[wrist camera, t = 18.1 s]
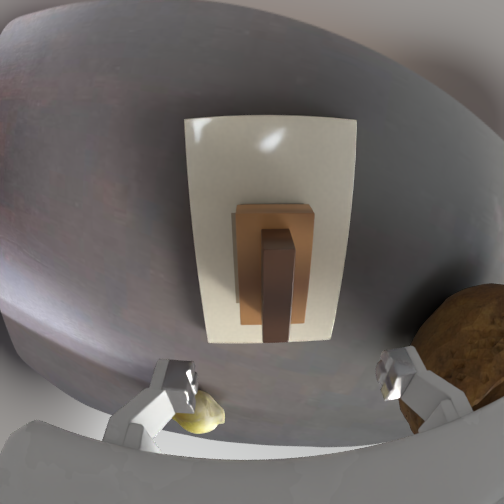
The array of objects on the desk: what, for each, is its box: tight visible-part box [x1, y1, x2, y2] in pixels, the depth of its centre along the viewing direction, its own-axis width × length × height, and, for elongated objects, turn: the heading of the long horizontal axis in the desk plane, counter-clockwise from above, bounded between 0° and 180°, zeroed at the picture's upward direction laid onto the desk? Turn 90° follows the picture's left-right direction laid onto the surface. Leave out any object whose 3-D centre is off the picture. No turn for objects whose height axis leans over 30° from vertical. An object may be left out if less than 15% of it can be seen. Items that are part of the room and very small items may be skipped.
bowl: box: [399, 284, 504, 434], centre depth 21 cm, size 19×19×15 cm
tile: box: [184, 115, 357, 343], centre depth 22 cm, size 20×12×2 cm, turn 1°
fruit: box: [172, 390, 225, 434], centre depth 31 cm, size 6×6×10 cm
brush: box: [235, 203, 315, 343], centre depth 19 cm, size 9×5×6 cm, turn 1°
